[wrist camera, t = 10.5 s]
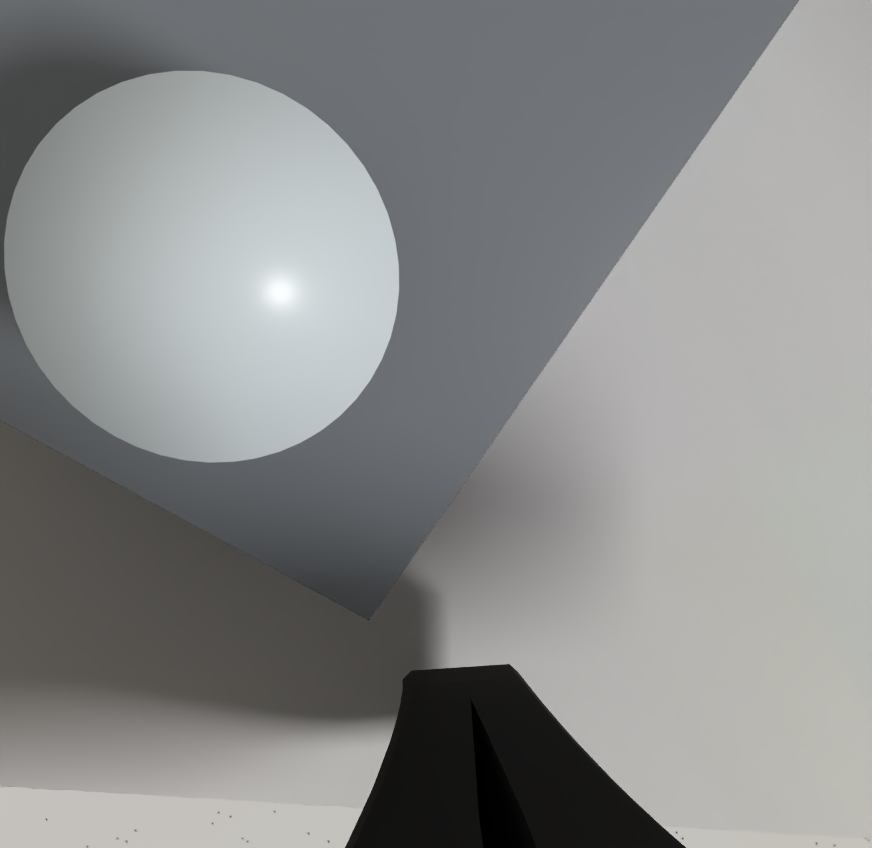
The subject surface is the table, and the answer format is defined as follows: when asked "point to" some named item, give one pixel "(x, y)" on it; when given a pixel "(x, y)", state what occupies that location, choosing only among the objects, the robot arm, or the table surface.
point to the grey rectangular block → (325, 240)
